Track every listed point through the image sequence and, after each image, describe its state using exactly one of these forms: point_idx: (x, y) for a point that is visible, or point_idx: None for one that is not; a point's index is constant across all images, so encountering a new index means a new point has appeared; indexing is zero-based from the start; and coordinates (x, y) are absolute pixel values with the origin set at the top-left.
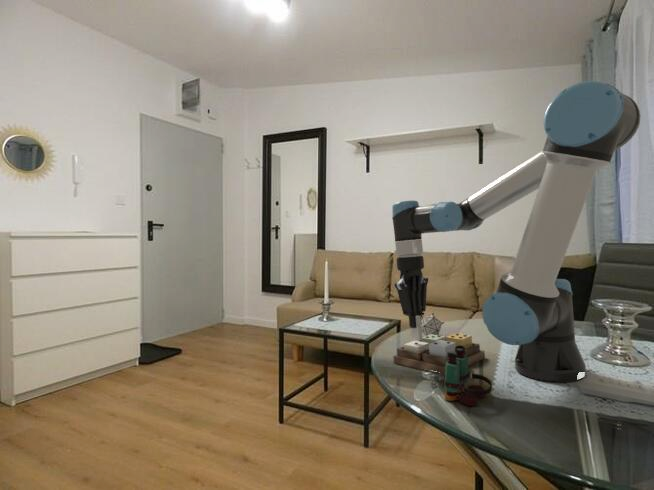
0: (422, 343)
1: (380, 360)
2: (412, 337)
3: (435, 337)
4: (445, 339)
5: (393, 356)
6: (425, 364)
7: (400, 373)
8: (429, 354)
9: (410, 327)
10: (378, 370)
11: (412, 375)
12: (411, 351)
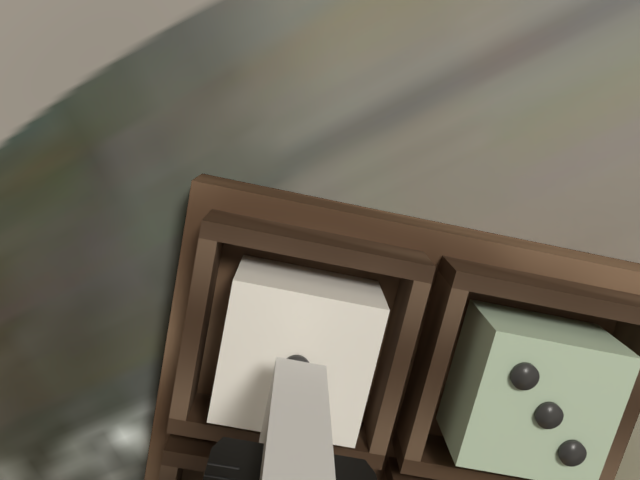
0: None
1: (210, 46)
2: (273, 375)
3: (538, 435)
4: None
5: (193, 180)
6: (151, 443)
7: (40, 307)
8: None
9: (222, 441)
10: (11, 148)
11: (48, 384)
12: (184, 359)
